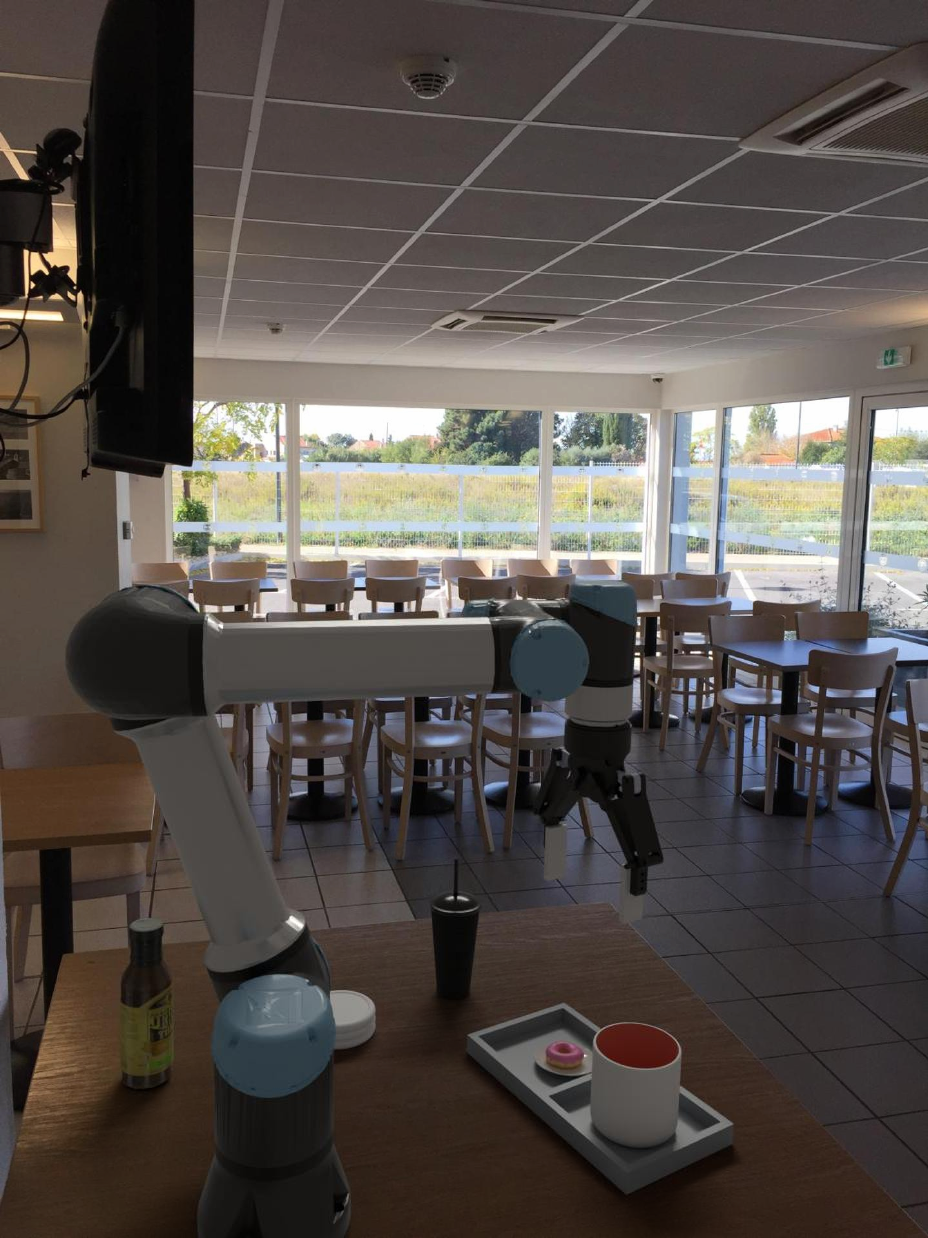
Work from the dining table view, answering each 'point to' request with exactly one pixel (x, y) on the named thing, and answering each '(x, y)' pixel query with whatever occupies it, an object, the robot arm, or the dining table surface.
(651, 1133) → the cup
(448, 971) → the drinking cup
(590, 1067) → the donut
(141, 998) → the sauce bottle
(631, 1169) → the carrier tray
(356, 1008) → the white plate stack
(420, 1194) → the dining table surface
